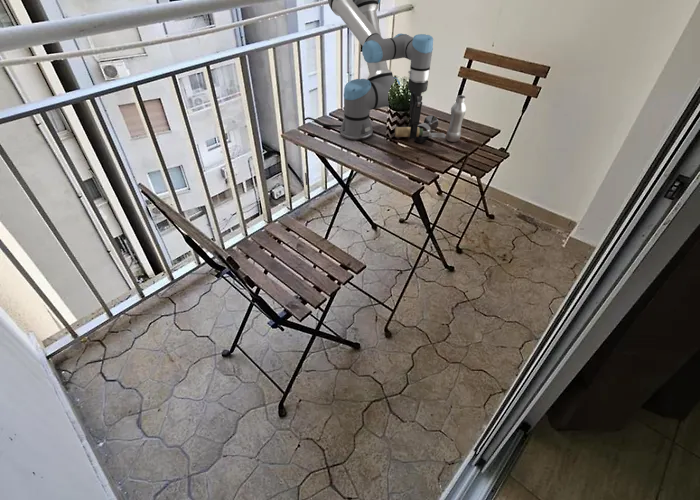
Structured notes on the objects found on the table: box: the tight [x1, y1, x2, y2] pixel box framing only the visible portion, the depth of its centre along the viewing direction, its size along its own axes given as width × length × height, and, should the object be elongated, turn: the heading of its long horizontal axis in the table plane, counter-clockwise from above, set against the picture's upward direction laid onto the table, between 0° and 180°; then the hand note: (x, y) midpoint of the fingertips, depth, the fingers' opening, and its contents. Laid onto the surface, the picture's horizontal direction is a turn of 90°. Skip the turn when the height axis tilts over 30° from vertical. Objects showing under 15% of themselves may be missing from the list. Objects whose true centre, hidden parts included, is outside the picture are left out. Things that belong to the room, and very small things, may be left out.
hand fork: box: [394, 126, 446, 139], centre depth 167 cm, size 22×4×4 cm, turn 91°
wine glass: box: [413, 114, 439, 144], centre depth 179 cm, size 8×8×15 cm
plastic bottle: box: [445, 94, 467, 143], centre depth 172 cm, size 6×7×20 cm
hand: (412, 135), depth 168 cm, fingers closed on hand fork, 4 cm apart
